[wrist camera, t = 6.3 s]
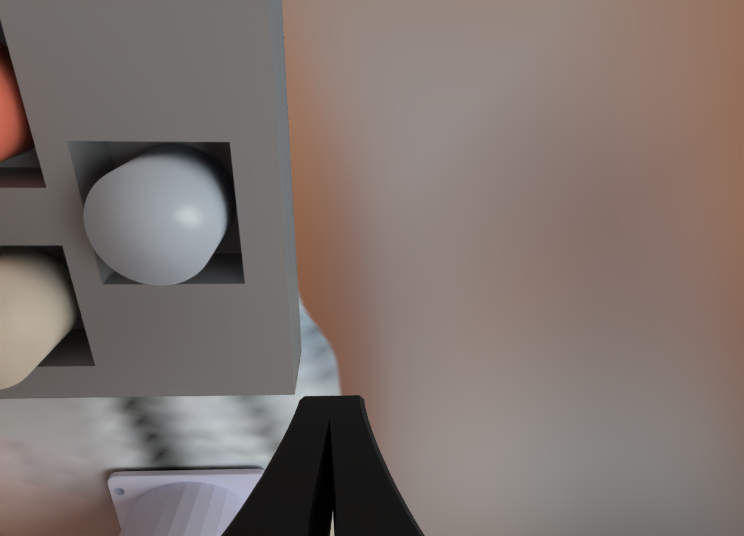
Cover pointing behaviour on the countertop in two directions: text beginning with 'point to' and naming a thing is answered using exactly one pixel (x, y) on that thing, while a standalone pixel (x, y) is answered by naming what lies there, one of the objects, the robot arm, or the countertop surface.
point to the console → (127, 141)
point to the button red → (12, 112)
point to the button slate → (160, 214)
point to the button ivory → (32, 310)
